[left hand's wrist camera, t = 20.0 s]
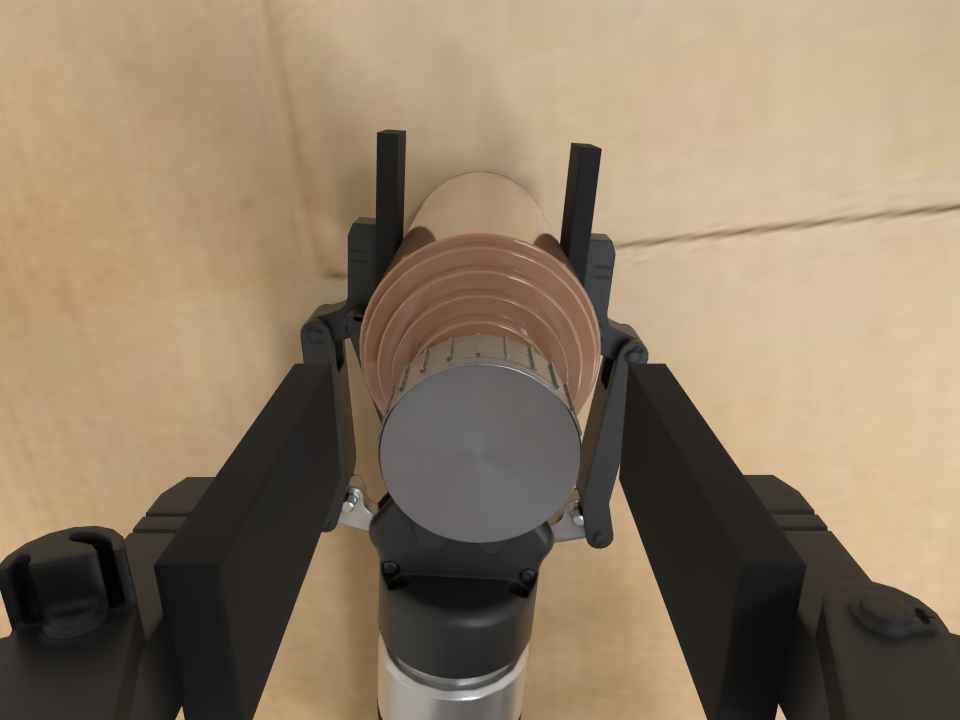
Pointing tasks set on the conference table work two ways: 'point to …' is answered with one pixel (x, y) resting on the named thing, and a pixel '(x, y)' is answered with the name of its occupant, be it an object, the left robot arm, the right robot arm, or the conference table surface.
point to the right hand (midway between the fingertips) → (489, 139)
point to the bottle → (480, 287)
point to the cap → (480, 440)
